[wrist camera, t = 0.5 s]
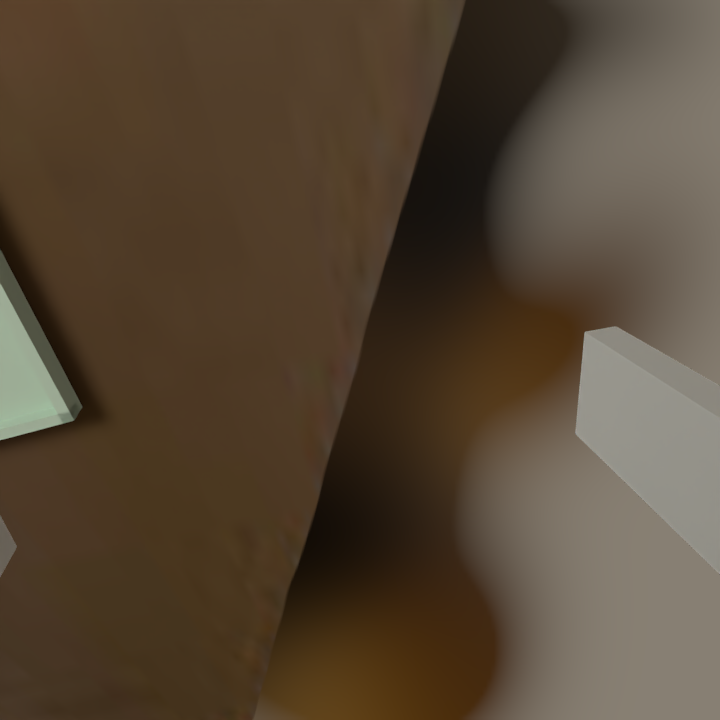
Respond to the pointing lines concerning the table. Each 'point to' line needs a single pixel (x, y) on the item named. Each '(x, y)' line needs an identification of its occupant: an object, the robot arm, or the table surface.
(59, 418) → the tray
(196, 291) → the table surface
